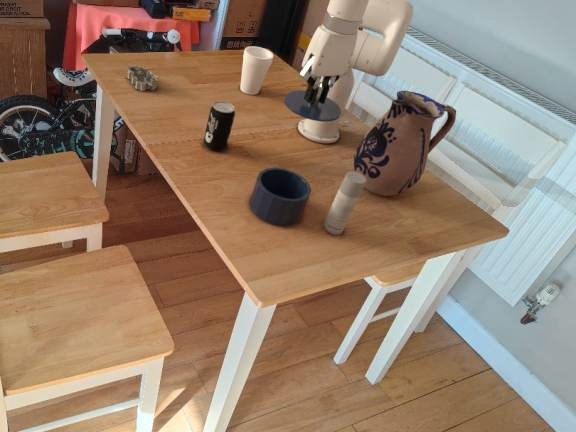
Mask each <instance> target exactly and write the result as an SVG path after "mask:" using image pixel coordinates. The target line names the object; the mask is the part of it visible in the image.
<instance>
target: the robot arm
mask: <svg viewBox="0 0 576 432" xmlns="http://www.w3.org/2000/svg"><path fill="white" fill-rule="evenodd" d="M413 16H414V7H413V4H412V3H411V2H409V1H408V0H329V1H328V6H327V9H326V11H325V14H324V16H323V17H324V18H323V20H322V22H321V23H322V24H321V25H318V27H317V28H316V30H315V31H314V33H313V35H312V38H311V39H310V42H309V44H308V46H307V49H306V52H305V54H304V57H303V59H302V63H301V68H302V70H301V71H300V73H299V77H300V78H301V79H303V80H305V81H306V84H307V87H306V90H305V91H306V93H305V96H304V100H306V101H307V102H308V103H309V104H310V105H313V104H314V102H315V99H316V97H317V94H318V91H319V90H318V89H317V88H318V85H319V83H321V84H323V85H324V86H325V87H324V90H323V93H322V95H321V98H320V101H319V102H320V103H321V104H324V103H325V100H326V98H327V97H328V98H329V99H331V100H333V101H334V102H335V103H336V104H337V105H338V106H339V107H340V109H341V114H340V117H339V118H338V119H336V120H333V121H327V122H322V121H315V120H310V119H307V118H304V119H301V120H300V121H299V122H298V125H297V129H298V130H297V131H299V133H300V134H301V135H302V136H304V138H306V139H308V140H311V141H313V142H315V143H319V144H333V143H336V142H337V141H338V140H339V138H340V131H339V129H342V128H348V127H349V126H350V122H349V120H341V118H342V116H343V114H344V111H345V109H346V106H347V105H348V101H349V99H350V97H351V94H352V91H353V90H354V86H355V74H354V72H353V70H356V71H359V72H361V73H365V74H368V75H370V76H374V77H383V76H385V75H386V74H387V73H388V72H389V70H390V69H391V67H392V65H393V62H394V61H395V58H396V56H397V53H398V51H399V50H400V47H401V45H402V43H403V40H404V39H405V36H406V34H407V32H408V30H409V27H410V25H411V23H412V20H413ZM359 28H361V29H364V30H366V31H364V30H361V29H359ZM367 31H370V32H373V33H376V34H380V35H382V36H383V37H381V36H378V35H375V34H371V33H370V32H367Z"/></svg>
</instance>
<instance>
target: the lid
mask: <svg viewBox="0 0 576 432" xmlns="http://www.w3.org/2000/svg"><path fill="white" fill-rule="evenodd" d="M324 87H325V86H324V85H323V84H321V83H319V85H318V88H317V89H318V90H319V91H318V94H317V97H316V99H315V102H314V104H313V105H310V104H309V103H308V102H307V101H306V100H304V96H305V93H306V90H301V89H300V90H299V89H298V90H292V91H288V92H287V93H285V95H284V98H283V103H284V104H285V106H286V108H287V109H288V110H290V111H291V112H292V113H294V114H295V115H298V116H300V117H301V118H304V119H306V118H307V119H310V120H315V121H322V122H327V121H333V120H336V119H338V118H339V117H340V114H341V109H340V107H339V106H338V105H337V104H336V103H335V102H334V101H333V100H331V99H329V98H328V97H327V98H326V100H325V103H324V104H321V103H320V102H319V101H320V98H321V95H322V93H323V90H324Z"/></svg>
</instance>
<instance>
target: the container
mask: <svg viewBox="0 0 576 432" xmlns="http://www.w3.org/2000/svg"><path fill="white" fill-rule="evenodd" d="M365 183H366V178H365V177H364V176H363V175H362V174H360V173H358V172H354V170H351V171H347V172H346V174H345V176H344V178H343V180H342V182H341V185H340V186H339V188H338V190H337V192H336V194H335V197H334V199H333V201H332V204H331V206H330V208H329V211H328V213H327V215H326V217H325V220H324V222H323V225H322V226H323V229H324V230H325V231H326V232H327V233H328V234H331V235H336V236H338V235H341V234H342V233H343V231H344V230H345V227H346V225H347V223H348V222H349V219H350V217H351V216H352V213H353V211H354V209H355V206H356V205H357V203H358V201H359V198H360V196H361V194H362V192H363V189H364V185H365Z"/></svg>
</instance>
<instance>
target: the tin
mask: <svg viewBox="0 0 576 432" xmlns="http://www.w3.org/2000/svg"><path fill="white" fill-rule="evenodd" d="M311 192H312V188H311V185H310V182H308V180H307V179H306V178H305V177H304V176H302V175H300V174H299V173H297V172H295V171H294V170H290V169H287V168H283V167H275V166H274V167H268V168H267V167H266V168H264V169H263V170H261V171H259V173H258V175H257V177H256V181H255V183H254V187H253V189H252V194H251V197H250V200H249V206H250V209H251V211H252V213H253V214H254V215H256V217H257V218H259V219H260V220H262V221H264V222H265V223H267V224H271V225H274V226H278V227H288V226H289V227H290V226H293V225H295V224H297V223H298V222H299V221H300V220H301V218H302V216H303V213H304V212H305V209H306V206H307V203H308V201H309V199H310V196H311V194H312V193H311Z"/></svg>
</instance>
